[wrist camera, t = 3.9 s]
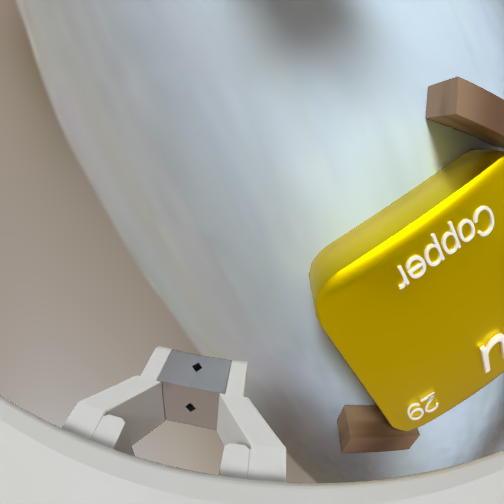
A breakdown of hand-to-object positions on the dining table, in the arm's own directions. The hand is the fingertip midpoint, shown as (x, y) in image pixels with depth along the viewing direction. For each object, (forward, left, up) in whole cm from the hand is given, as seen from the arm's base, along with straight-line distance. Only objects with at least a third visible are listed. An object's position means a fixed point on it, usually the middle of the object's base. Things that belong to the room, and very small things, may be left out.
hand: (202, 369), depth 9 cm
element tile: (-14, 0, -10) cm, 17 cm away
